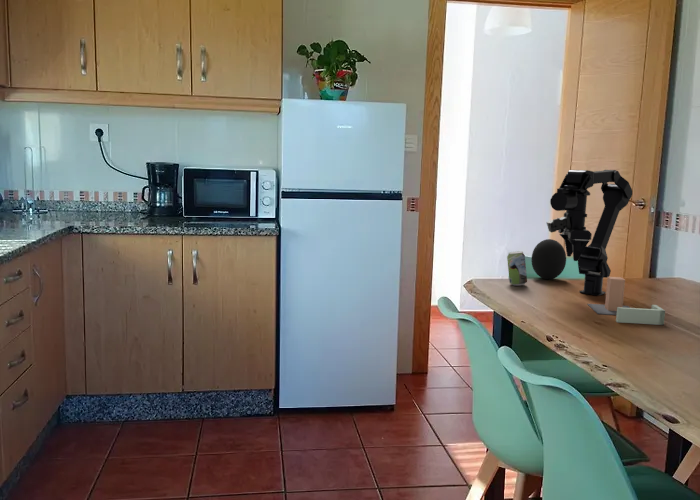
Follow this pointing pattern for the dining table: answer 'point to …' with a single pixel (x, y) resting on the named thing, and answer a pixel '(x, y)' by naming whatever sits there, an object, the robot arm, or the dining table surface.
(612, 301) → the terracotta block
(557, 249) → the decorative egg
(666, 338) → the dining table surface
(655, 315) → the bar
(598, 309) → the charcoal mat
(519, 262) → the beverage can
